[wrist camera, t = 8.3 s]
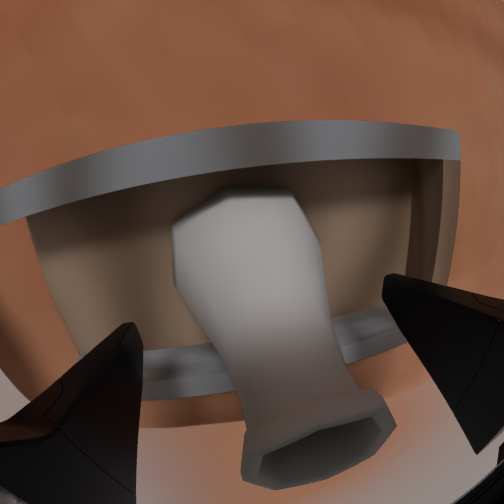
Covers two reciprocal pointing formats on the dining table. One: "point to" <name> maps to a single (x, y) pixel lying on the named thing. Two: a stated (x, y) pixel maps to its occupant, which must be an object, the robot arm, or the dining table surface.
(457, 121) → the dining table surface
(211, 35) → the dining table surface
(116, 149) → the grey rectangular tray
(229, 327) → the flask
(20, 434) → the robot arm
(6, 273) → the dining table surface
